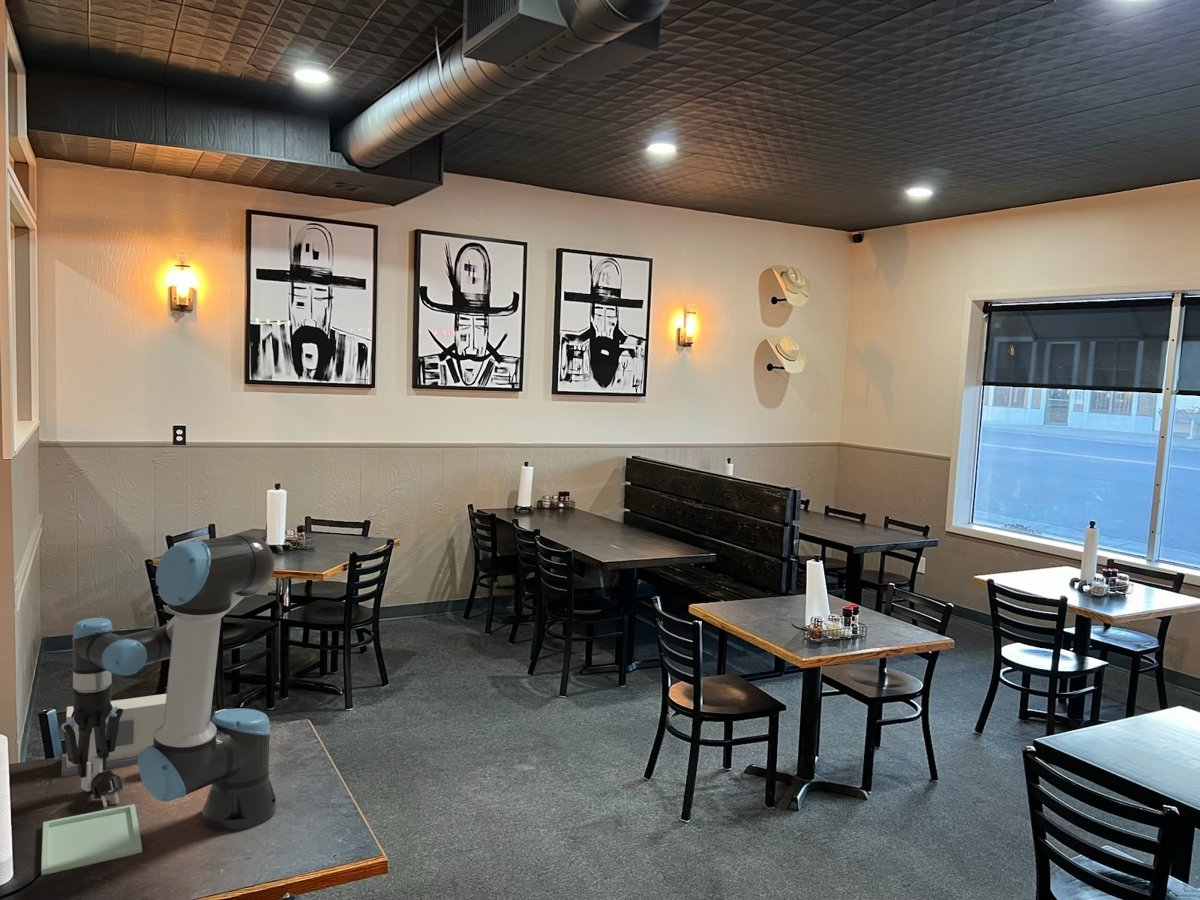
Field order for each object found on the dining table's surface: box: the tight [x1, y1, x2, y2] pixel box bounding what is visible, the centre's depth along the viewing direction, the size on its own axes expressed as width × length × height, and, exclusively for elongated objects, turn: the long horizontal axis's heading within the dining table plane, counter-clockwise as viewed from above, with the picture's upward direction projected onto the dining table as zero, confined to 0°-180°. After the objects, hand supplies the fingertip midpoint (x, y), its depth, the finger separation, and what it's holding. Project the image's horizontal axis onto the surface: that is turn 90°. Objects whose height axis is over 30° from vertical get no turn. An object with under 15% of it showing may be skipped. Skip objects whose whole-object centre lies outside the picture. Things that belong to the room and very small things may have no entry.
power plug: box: [91, 769, 123, 808], centre depth 192 cm, size 6×8×12 cm
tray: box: [40, 803, 143, 877], centre depth 175 cm, size 20×17×2 cm
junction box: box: [61, 693, 167, 777], centre depth 212 cm, size 24×10×14 cm, turn 121°
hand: (91, 786), depth 195 cm, fingers closed on power plug, 2 cm apart
